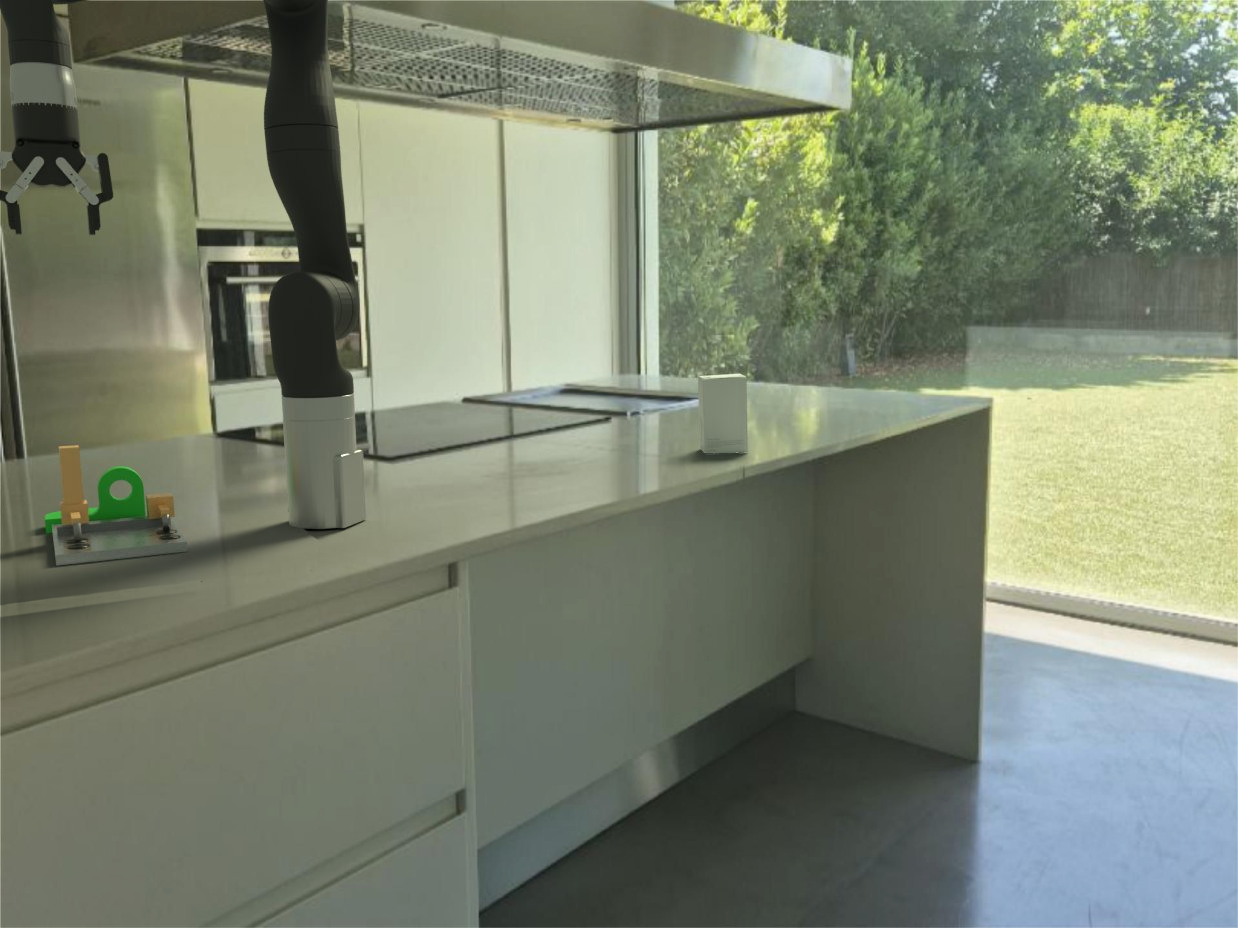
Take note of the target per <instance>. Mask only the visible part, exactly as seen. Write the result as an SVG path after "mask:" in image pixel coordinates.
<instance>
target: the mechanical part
mask: <svg viewBox="0 0 1238 928" xmlns="http://www.w3.org/2000/svg"><path fill="white" fill-rule="evenodd" d="M117 481H118V482H119V481H125V482H127V483H129V484H130V487H131V491H130V493H129V494H128V495H127V496H126V497H123V498H117V497H115V496H114V495H112V493H111V492H110V489H111V487H112V485H113V484H114V483H115V482H117ZM144 488H145V487H144V482H143V480H142V478H141V476H140V475H139V473H138V472H137V471H136V470H134V469H132V468H131V467H128V466H121V465H117V466H112V467H111V468H108V469H107V470H105V471H104V472H103V474H102V475H100V477H99V479H98V483H97V495H98V507H88V514H89V521H94V520H105V519H115V518H126V517H137V516H147V512H146V503H145V502H146V499H145V489H144ZM44 524H45V527H44V528H45V534H52V524H62V520H61V510H59V511H53V512H50V513H47V514H45V516H44Z"/></svg>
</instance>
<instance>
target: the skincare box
mask: <svg viewBox="0 0 1238 928" xmlns="http://www.w3.org/2000/svg"><path fill="white" fill-rule="evenodd" d="M747 383H748V376H745V375H744V374H741V373H729V374H727V373H726V374H714V375H713V374H712V375H698V376H697V384H698V385H697V387H698V390H697V391H698V393H697V394H698V395H697V397H698V421H699V450H700V449H701V450H702V451H703V452H705V453H714V454H713V455H716V454H715V453H736V452H748V453H749V443H748V442H749V437H748V436H749V433H748V432H749V431H748V391H747V390H748V387H747V386H748V384H747ZM701 450H700V451H701ZM702 451H701V452H702ZM703 452H702V453H703Z"/></svg>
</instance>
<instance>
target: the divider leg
mask: <svg viewBox="0 0 1238 928" xmlns="http://www.w3.org/2000/svg"><path fill="white" fill-rule="evenodd" d="M58 454H59V466H60V477H61V486H62V487H61V489H62V490H61V491H62V499H63V501H61V502H59V508H60V511H61V520H62V525H69V524H72V525H73V529H74V540H82V535H81V523H89V514H88V508H89V505H88V501H87V499H84V489H83V487H84V486H83V475H82V467H81V465H82V464H81V454H80V446H79V445H78V444H77V445H76V444H75V445H63V446H62V445H61V446H58Z"/></svg>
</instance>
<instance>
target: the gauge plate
mask: <svg viewBox="0 0 1238 928" xmlns="http://www.w3.org/2000/svg"><path fill="white" fill-rule="evenodd" d="M145 502H146V503H145V506H146V516H137V517H126V518H115V519H105V520H94V521H89V523H81V535H82V540H74V529H73V525H72V524H69V525H62V524H52V533H51V534H52V542H53V547H54V548H53V549H54V557H55V565H56V566H58V567H59V566H65V565H66V566H67V565H68V566H69V565H75V564H84V563H85V564H87V563H92V562H102V561H104V562H105V561H112V560H121V559H122V560H123V559H130V558H140V557H141V558H142V557H148V556H157V555H165V554H177V553H185V552H188V540H186V538H185V537H184V535H183V533H182V531H180V529H179V528H178V526H177V525H176V523H175V522H174V520H173V519H172V518H174V517H175V516H176V515H175V514H176V513H175V503H174V502H175V500H174V495H173V493H172V492H164V493H152V494H146V495H145Z"/></svg>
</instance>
